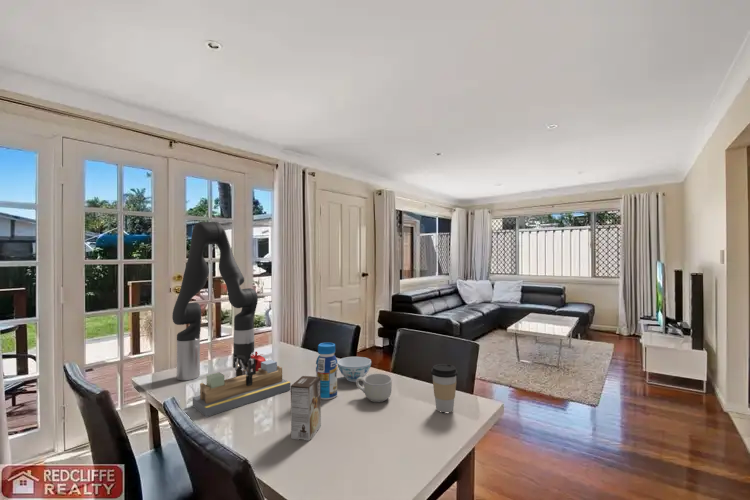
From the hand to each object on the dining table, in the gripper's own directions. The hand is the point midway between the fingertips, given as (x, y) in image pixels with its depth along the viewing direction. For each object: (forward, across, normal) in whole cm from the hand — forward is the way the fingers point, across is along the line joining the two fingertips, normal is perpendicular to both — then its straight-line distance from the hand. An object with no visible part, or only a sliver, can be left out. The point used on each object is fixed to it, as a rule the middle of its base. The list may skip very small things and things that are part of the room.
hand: (244, 382), depth 138 cm
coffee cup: (+6, +62, +44) cm, 76 cm away
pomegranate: (+6, -26, +18) cm, 32 cm away
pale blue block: (-2, 0, +11) cm, 11 cm away
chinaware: (+6, +16, +43) cm, 46 cm away
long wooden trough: (+3, 0, 0) cm, 3 cm away
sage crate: (-2, 0, -11) cm, 11 cm away
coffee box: (+6, +40, +1) cm, 40 cm away
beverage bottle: (+6, +22, +23) cm, 32 cm away
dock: (+6, 0, 0) cm, 6 cm away
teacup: (+6, +37, +34) cm, 51 cm away
